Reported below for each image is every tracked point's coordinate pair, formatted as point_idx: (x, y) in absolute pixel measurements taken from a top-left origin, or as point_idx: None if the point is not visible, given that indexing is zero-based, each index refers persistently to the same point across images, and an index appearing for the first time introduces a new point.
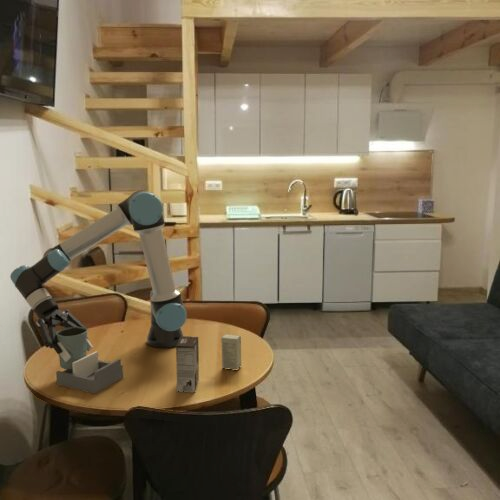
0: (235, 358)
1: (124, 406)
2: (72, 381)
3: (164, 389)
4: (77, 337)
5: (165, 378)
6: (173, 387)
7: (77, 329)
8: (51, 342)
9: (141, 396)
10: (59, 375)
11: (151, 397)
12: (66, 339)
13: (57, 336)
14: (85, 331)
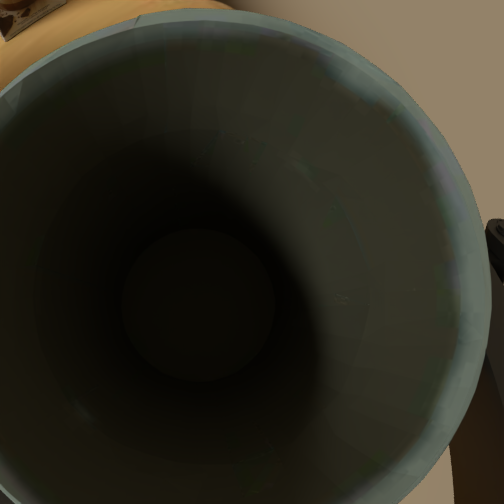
0: None
1: (202, 4)
2: None
3: (66, 20)
4: (229, 39)
5: (6, 68)
6: (47, 21)
7: (10, 440)
8: (493, 227)
9: (131, 15)
10: None
11: (121, 4)
12: (373, 116)
13: (469, 269)
14: (29, 72)
